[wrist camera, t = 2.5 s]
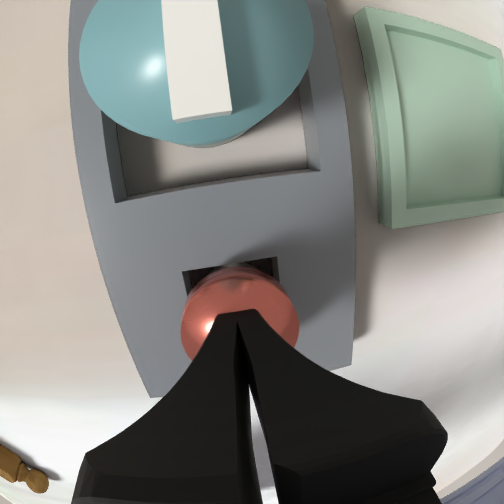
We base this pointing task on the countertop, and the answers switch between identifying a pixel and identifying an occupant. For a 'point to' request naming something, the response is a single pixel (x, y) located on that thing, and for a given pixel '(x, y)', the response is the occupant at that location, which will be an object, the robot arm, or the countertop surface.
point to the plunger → (236, 303)
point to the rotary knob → (194, 64)
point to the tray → (433, 119)
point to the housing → (224, 223)
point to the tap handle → (21, 471)
